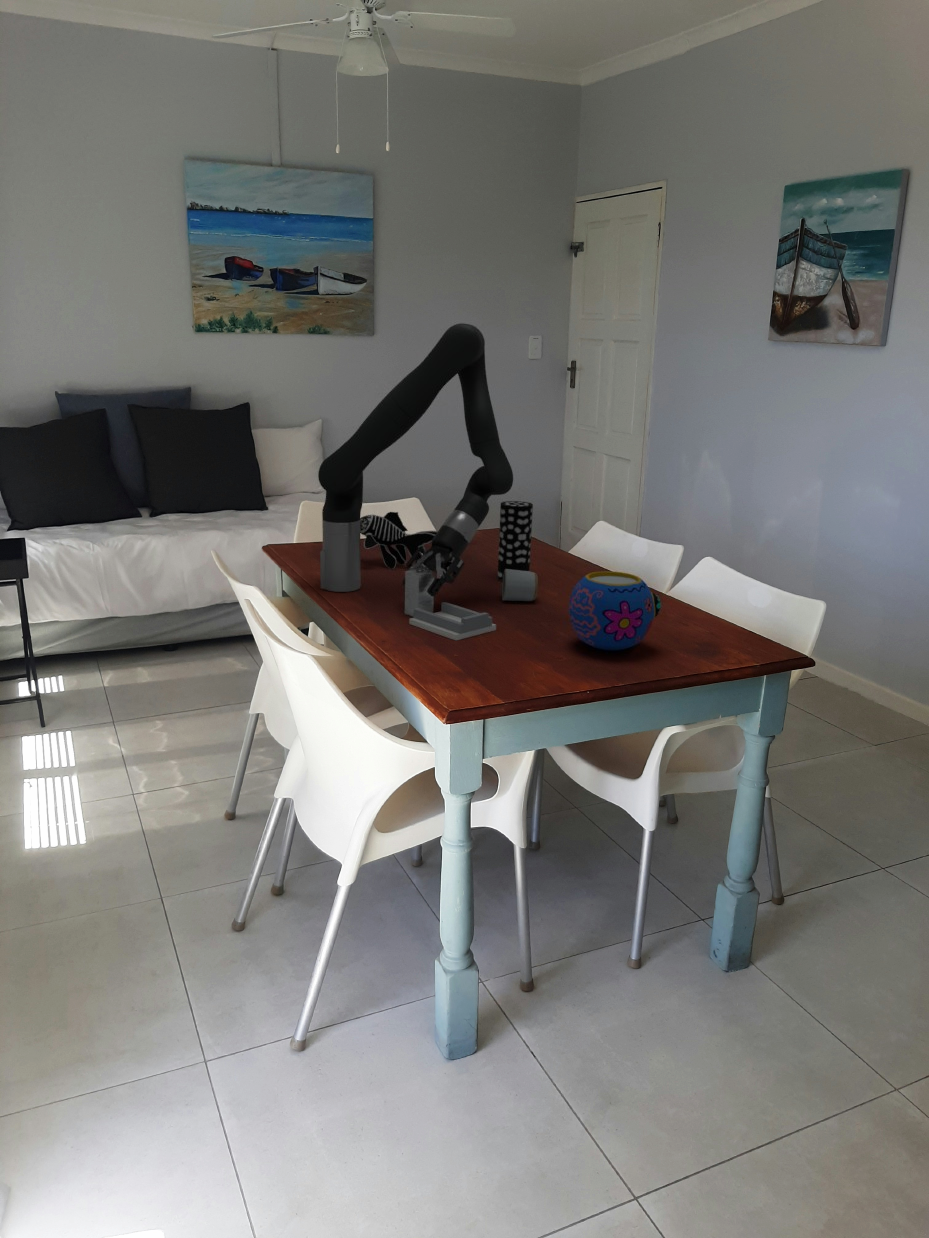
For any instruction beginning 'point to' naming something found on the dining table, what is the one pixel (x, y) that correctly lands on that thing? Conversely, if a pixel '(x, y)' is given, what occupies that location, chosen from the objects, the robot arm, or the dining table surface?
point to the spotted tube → (514, 536)
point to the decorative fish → (392, 537)
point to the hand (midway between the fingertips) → (417, 590)
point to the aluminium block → (418, 590)
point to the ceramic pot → (612, 610)
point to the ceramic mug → (519, 585)
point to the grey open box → (453, 621)
